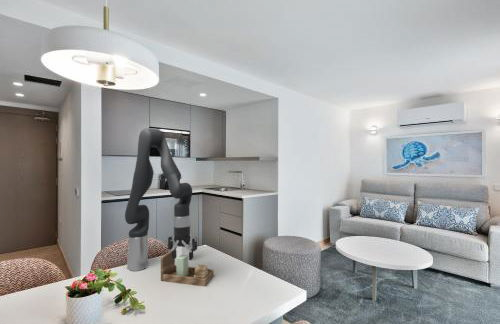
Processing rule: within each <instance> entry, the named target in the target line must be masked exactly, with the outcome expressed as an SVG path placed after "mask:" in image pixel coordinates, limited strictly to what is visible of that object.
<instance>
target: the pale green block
mask: <svg viewBox="0 0 500 324" xmlns="http://www.w3.org/2000/svg"><path fill="white" fill-rule="evenodd" d="M175 265H176V271H177V276H185V277H186V276H187V275H188V267H189V261H188V255H181V256H179V257H178V258H175Z"/></svg>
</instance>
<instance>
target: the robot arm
mask: <svg viewBox="0 0 500 324" xmlns="http://www.w3.org/2000/svg"><path fill="white" fill-rule="evenodd" d="M151 148H156V150H157V151H158V152H159V155H160V169H161V171H162V173H163V176H164V177H165V178H166V181H167V185H168V190H169V193H170V195H171V197H173V198H174V199H175V200H176V199H178V202H176V203H175V204H174V206H173V213H174V214H173V235H170V236H169V237H167V249H168V250H170V251H172V257H173V259H175V260H176V257H177V256H176V248H177V247H181V246H182V247H186V249H188V251H189V261H192V260H193V258H194V252H196V251H197V250H198V239H197V236H194V237H192V236H191V237H190V229H191V217H190V215H191V214H190V205H191V201H192V197H193V196H192V195H193V187H192V185H191V184H190V183H188V182H180V179H181V178H182V174H181V172H180V169H179V168H178V166H177V164H176V162H175V160H174V158H173V155H172V153H171V150H170V148H169V145H168V141H167V139H166V137H165V134H164V132H163V131H162V130H160V129H158V128H157V129H156V128H143V129H141V131H140V133H139V135H138V142H137V153H136V154H137V156H136V163H135V167H134V173H133V178H132V183H131V189H130V194H129V197H128V201H127V205H126V207H125V208H126V209H125V211H124V221H125V222H126V223H127V224H128V225H135V226H134V227H133V228H131V229H130V230H129V231H128V250H126V259H127V260H126V261H127V263H126V265H127V268H126V269H128V270H129V271H131V272H138V271H143V270H145V269H147V268H148V267H147V266H149V263H148V262H149V261H148V259H149V257H148V256H149V255H148V254H149V252H148V250H149V249H148V248H149V247H148V243H149V241H148V235H149V234H148V231H149V228H150V210H149V207H148V206H147V205H146V204H140V202H141V199H142V198H143V197H144V195H145V194H146V193H147V192H148V191H149V189H150V187H151V186H152V184H153V178H154V174H155V173H154V169H153V165H152V163H151V161H150V152H151ZM190 241H191V243H190ZM188 245H189V246H188ZM146 267H147V268H146ZM144 268H145V269H144ZM142 269H143V270H142Z"/></svg>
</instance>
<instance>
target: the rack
mask: <svg viewBox="0 0 500 324" xmlns="http://www.w3.org/2000/svg"><path fill="white" fill-rule="evenodd" d="M195 269H196V267H192V266H188V275H187V276H186V277H185V276H177V271H176V258H175V259H173V257H172V251H171V250H170V251H169V252H167V253H166V254H164V255H162V256H160V281H161V282H166V283H172V284H173V283H175V284H181V285H182V284H183V285H190V286H198V287H206V286H207V285H208V284H209V282H210V281H211V280H212V278H214V276H215V273H214V272H215V271H214V270H215V269H213V268H208V271H209V274H208V275H207V276H206V278H205V279H202V278H194V275H195Z"/></svg>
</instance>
